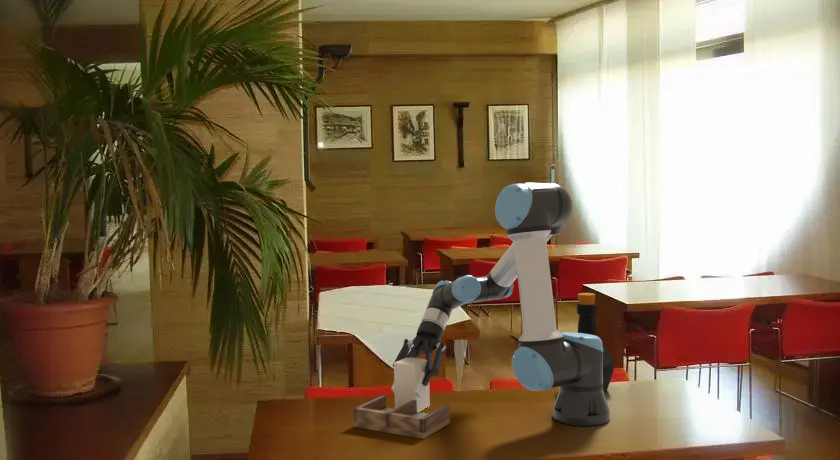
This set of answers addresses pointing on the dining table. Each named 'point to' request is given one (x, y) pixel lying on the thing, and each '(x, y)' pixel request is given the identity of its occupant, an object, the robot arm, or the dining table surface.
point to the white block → (410, 382)
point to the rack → (400, 418)
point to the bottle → (593, 331)
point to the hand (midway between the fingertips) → (405, 392)
